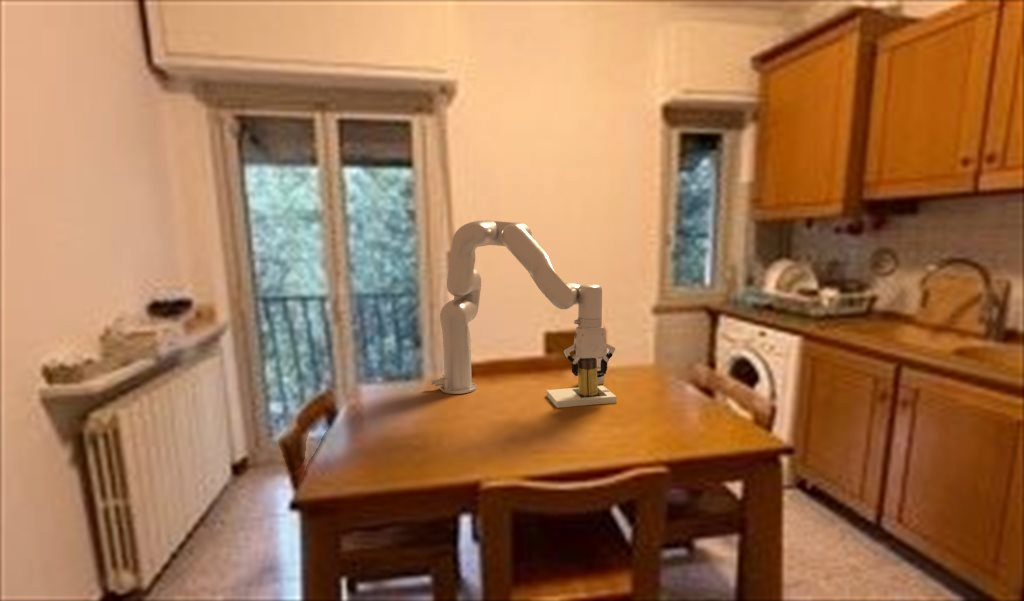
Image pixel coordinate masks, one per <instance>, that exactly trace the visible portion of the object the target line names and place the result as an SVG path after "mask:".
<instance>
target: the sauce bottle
mask: <svg viewBox="0 0 1024 601" xmlns="http://www.w3.org/2000/svg"><path fill="white" fill-rule="evenodd" d="M577 364H578V378H577V379H578V380H577V381H578V388H579V395H578V396H580V397H581V398H586V397H598V387H597V386H598V385H597V360H596V358H589V359H579V360H578V362H577Z"/></svg>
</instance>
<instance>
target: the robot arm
mask: <svg viewBox="0 0 1024 601" xmlns="http://www.w3.org/2000/svg"><path fill="white" fill-rule="evenodd" d="M532 235H533V234H532V231H531V229H530V227H529V226H528V225H527V224H525V223H524V222H513V221H512V222H510V221H499V220H487V219H486V220H474V221H470V222H467V223H466V224H463V225H461V226H460V227H459V228H458V229H457V230H456V231H455V233H454V235H453V237H452V240H451V245H450V256H449V260H448V261H449V263H448V271H447V279H446V288H447V291H448V293H449V294H450V295H451V296H453V299H451V300H449V301H447V302H446V303H445V304H444V305H443V306H442V308H441V310H440V315H439V318H440V319H439V321H440V322H439V323H440V326H441V331H442V334H441V335H442V346H443V347H442V348H443V352H442V353H443V375H442V377H439V378H431V379H430V382H431V385H435V386H436V387H438V386H440V387H439V389H440V391H441V392H442V393H444V394H450V395H462V394H463V395H464V394H468V393H472V392H474V391H475V390H476V389H477V384H476V382H473V381H472V348H471V347H472V346H471V342H472V340H471V331H470V327H469V323H470V322H472V321H473V320H474V319H475V318H476V317H477V315H478V312H479V311H478V310H479V306H480V297H481V290H482V278H481V274H480V272H479V271H478V270H477V269H476V268H475V263H476V250H477V248H479V247H485V246H498V247H506V249H507V250H508V251H509V252H510V253H511V255H513V256H514V258H515V259H516V260H517V262H519V263H520V264H521V265H522V267H524V268H525V270H526V271H527V273H528V274H529V276H530V278H531V279H532V280H533V282H534V284H536V286H537V289H539V291H541V293H542V294H543V295H544V296H545V298H546V299H547V300H548V301H549V302H550V303H551V304H552V305H553V306H555V307H556V308H558V309H559V310H569V309H570V308H572V307H573V306H574V305H578V312H577V314H578V315H577V316H578V317H577V319H574V320H573V322H574V323H573V324H574V325H577V326H576V328H575V332H574V337H573V338H574V339H573V344H572V345H571V346H569V347H567V348H565V349H564V350H563V353H564V355H565V357H566V359H567V360H569V362H571V373H572V374H573V376H575V377H577V376H578V360H579V359H589V358H602V360H601V372H602V373H603V374H604V375H606V374H607V371H608V363H609V361H610V359H611V358H612V357H613V354H614V353H615V351H616V347H614V346H612V345H611V344H608V343H607V335H606V330H605V329H606V328H605V326H603V325H602V324H603V323H602V322H603V320H602V319H603V318H602V316H603V288H602V286H601V285H599V284H593V283H591V284H590V283H589V284H587V283H586V284H579V283H573V282H564V281H563V279H562V278H561V277H560V275H558V274H557V272H556V271H555V269H554V267H553V265H552V263H551V260H550V256H549V254H548V253H547V252H546V251H545V250H544V248H542V246H541V245H540V244H539V243H538V242H537V240H535V239H534V237H533V236H532ZM607 349H608V350H607ZM607 351H608V352H607ZM571 352H573V356H572V355H571V354H570V353H571Z"/></svg>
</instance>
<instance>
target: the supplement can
mask: <svg viewBox="0 0 1024 601" xmlns="http://www.w3.org/2000/svg"><path fill="white" fill-rule="evenodd" d="M596 360H597V386H602V384H603V383H604V382H605V374H603V373H602V372H601V360H602V358H596Z"/></svg>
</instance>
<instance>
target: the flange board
mask: <svg viewBox="0 0 1024 601" xmlns="http://www.w3.org/2000/svg"><path fill="white" fill-rule="evenodd" d="M597 387H598V393H597V397H586V398H581V397H580V396H579V387H568V388H557V389H546V397H547V398H548V399H549V401H550V402H552V404H553V405H554V406H555V407H556V408H558V409H559V408H571V407H580V406H589V405H590V406H593V405H603V404H612V403H613V404H614V403H617V396H616V395H615V394H614V393H613V392H611V391H610V390H609V389H608V388H607V387H605V386H604V385H597ZM598 395H599V396H598Z"/></svg>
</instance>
